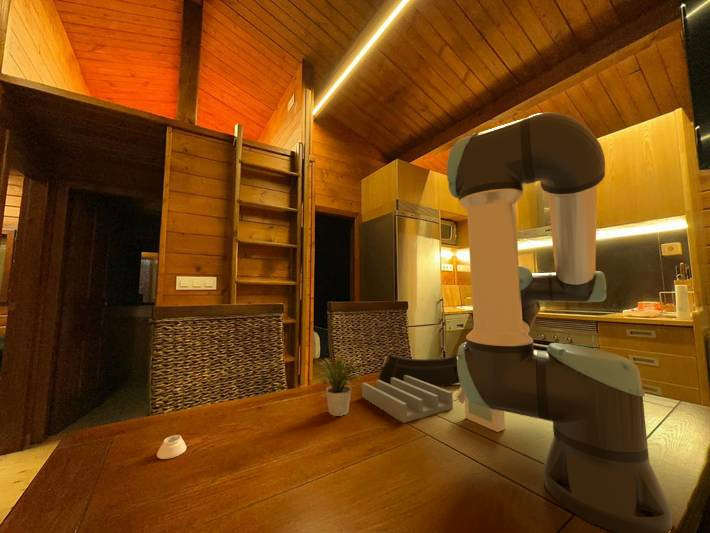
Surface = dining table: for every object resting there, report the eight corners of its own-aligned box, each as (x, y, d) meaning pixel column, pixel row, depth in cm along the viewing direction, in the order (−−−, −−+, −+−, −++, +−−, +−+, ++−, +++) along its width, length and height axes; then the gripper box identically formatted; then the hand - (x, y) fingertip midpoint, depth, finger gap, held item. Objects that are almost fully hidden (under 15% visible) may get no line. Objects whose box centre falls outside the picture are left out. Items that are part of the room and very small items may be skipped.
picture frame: (472, 415, 76) (471, 369, 77) (504, 429, 68) (502, 377, 69) (464, 417, 74) (463, 370, 75) (496, 432, 66) (494, 379, 68)
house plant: (339, 432, 66) (339, 361, 68) (299, 417, 75) (300, 353, 76) (373, 412, 78) (372, 351, 79) (335, 400, 86) (335, 346, 88)
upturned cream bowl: (175, 445, 61) (151, 457, 57) (176, 431, 61) (152, 441, 57) (191, 450, 59) (167, 463, 55) (192, 435, 59) (168, 447, 55)
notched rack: (406, 388, 97) (406, 374, 98) (452, 408, 80) (452, 392, 81) (362, 397, 88) (362, 383, 89) (403, 423, 71) (403, 404, 72)
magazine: (467, 358, 104) (389, 334, 103) (471, 360, 101) (391, 336, 100) (455, 404, 102) (376, 381, 101) (459, 408, 99) (377, 384, 98)
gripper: (558, 351, 71) (526, 433, 62) (481, 339, 90) (448, 401, 80) (546, 331, 69) (511, 413, 60) (470, 323, 88) (434, 384, 78)
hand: (475, 406), depth 70 cm, fingers closed on picture frame, 9 cm apart
